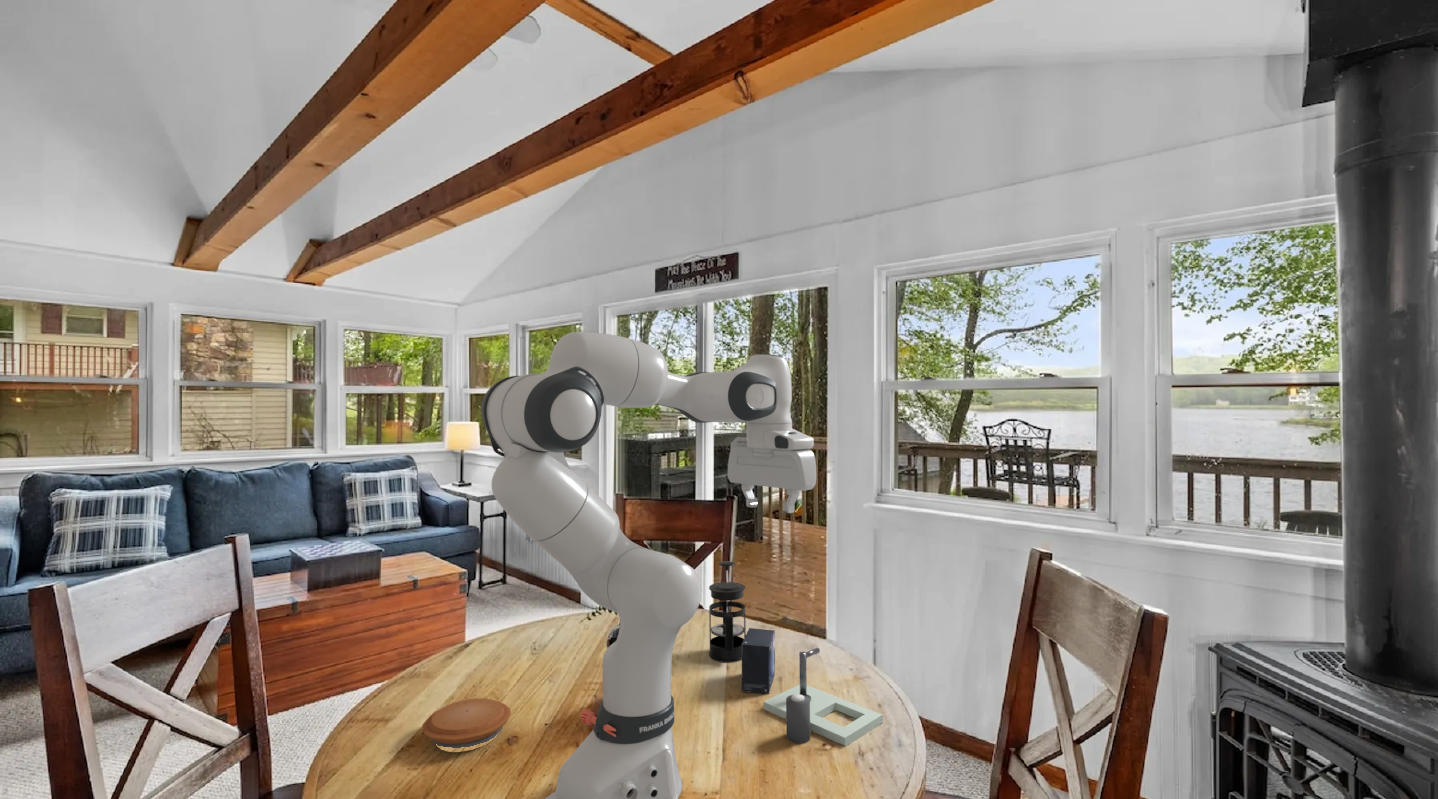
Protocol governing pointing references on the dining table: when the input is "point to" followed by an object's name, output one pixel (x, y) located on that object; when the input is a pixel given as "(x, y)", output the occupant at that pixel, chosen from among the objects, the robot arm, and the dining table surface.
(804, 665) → the grey angled rod part
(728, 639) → the french press
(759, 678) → the small box
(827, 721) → the pale green board
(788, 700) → the grey cylinder with ball
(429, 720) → the pie
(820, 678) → the dining table surface
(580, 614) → the dining table surface
